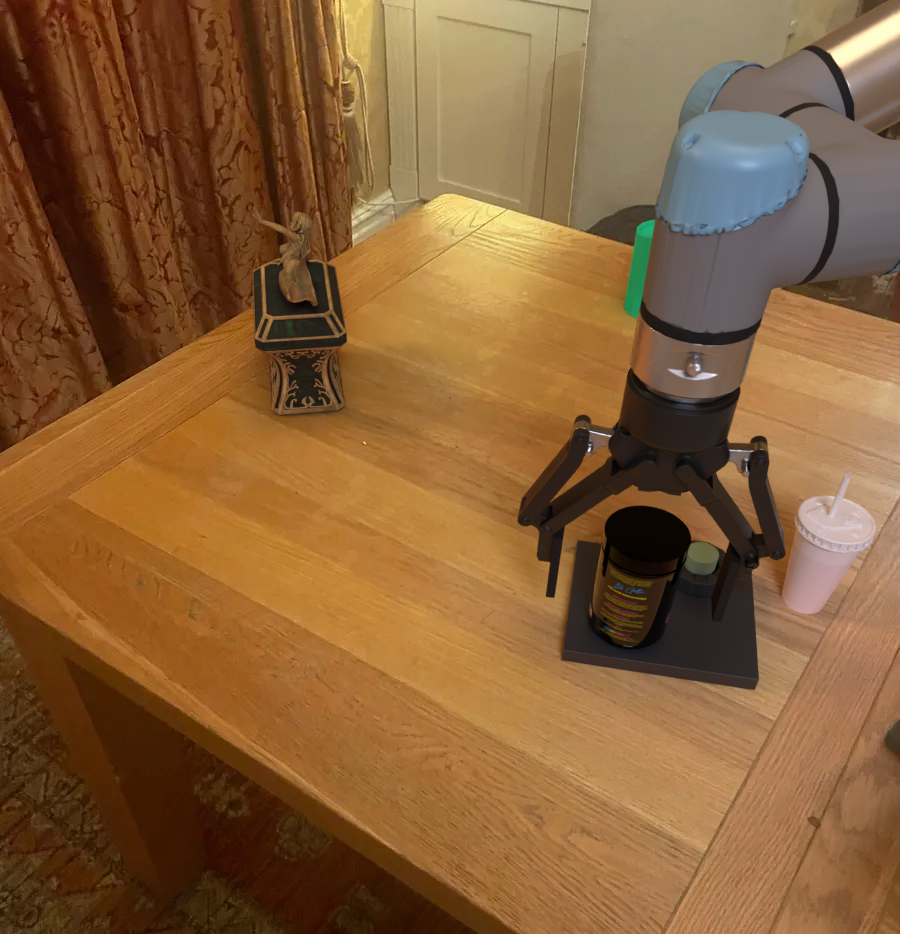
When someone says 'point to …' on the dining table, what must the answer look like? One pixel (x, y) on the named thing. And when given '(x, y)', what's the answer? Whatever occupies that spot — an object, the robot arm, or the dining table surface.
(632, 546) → the supplement container
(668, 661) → the scale
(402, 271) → the dining table surface
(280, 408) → the decorative box
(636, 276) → the candle
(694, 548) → the button
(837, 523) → the smoothie
